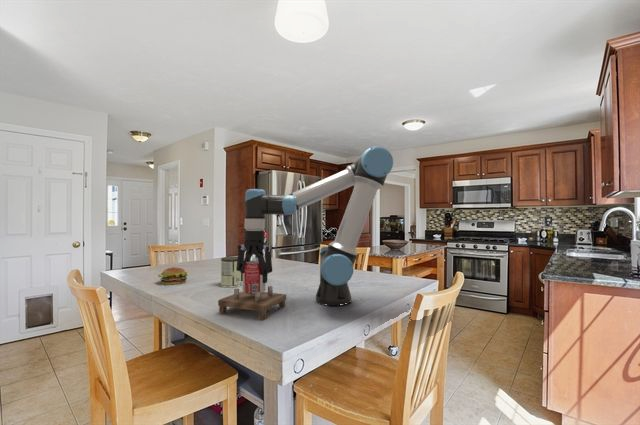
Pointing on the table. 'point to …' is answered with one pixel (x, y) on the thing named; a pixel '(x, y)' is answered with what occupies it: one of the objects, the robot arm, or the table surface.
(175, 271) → the food
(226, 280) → the coffee can
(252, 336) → the table surface
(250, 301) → the peg shelf
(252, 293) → the soda can
